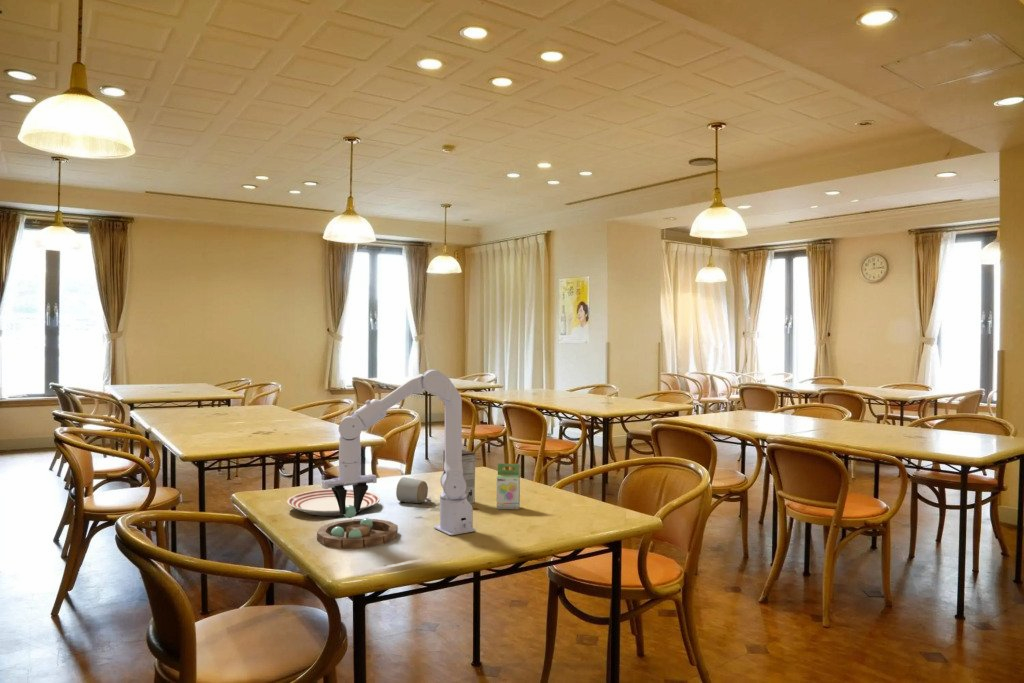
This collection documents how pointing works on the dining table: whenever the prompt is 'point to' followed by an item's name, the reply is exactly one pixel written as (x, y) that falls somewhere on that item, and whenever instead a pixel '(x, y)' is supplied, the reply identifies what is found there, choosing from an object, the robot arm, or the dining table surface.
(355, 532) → the seated bead
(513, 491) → the ink box
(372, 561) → the dining table surface
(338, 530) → the seated bead
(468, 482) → the coffee box
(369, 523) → the bead
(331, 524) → the ring tray
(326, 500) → the dinner plate
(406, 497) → the ceramic mug
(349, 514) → the bead
